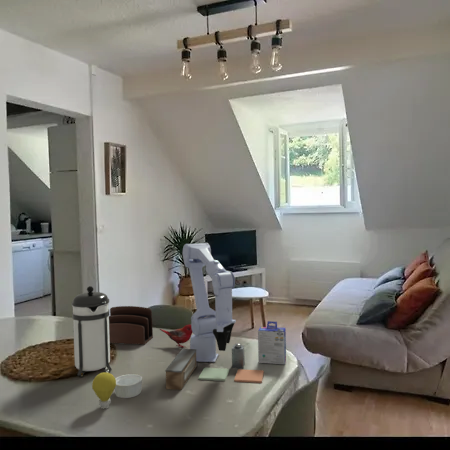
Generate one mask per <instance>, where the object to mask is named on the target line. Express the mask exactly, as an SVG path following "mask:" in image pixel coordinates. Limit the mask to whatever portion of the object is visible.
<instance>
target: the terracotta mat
mask: <svg viewBox="0 0 450 450" xmlns="http://www.w3.org/2000/svg"><path fill="white" fill-rule="evenodd" d="M264 373H265V370H262V369H261V370H260V369H244V368H237V371H236V374H235V377H234V379H233V380H234V381H233V382H237V383H238V382H239V383H254V384H257V383H258V384H261V383H263V377H264Z"/></svg>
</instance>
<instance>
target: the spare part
mask: <svg viewBox="0 0 450 450" xmlns="http://www.w3.org/2000/svg"><path fill="white" fill-rule="evenodd" d="M245 359H246V358H245V345H242V343H239V342H235V343H234V344H233V345H232V347H231V368H232V369H244V368H245V366H246V365H245V361H246V360H245Z"/></svg>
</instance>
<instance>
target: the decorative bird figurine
mask: <svg viewBox="0 0 450 450" xmlns="http://www.w3.org/2000/svg"><path fill="white" fill-rule="evenodd" d="M159 330H160V331H161V332H163V333H165V334H166V335H167V336H168V337H169V338H170V339H171V340H172V341H174V342H175V343H176V344H175V346H177V347H179V348H182V349H184V348H185V346H184V345H182V344H186V343H187V342H188V341H190V340H191V336H192V335H193V332H192V328H191V323H190V324H185V325H184V326H183V327H182V328H177V329H176V328H175V329H173V330H170V331H168V330H164V329H162V328H159Z"/></svg>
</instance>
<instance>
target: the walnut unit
mask: <svg viewBox="0 0 450 450" xmlns="http://www.w3.org/2000/svg"><path fill="white" fill-rule="evenodd" d="M196 368H197V361H196V349H190V348H182V349H181V350H180V351H179V352H178V353H177V355H176V356H175V357H174V359H173V360H172V361H171V363H169V365H168V366H167V367H166V369H165V370H164V372H165V388H166V390H175V391H176V390H177V391H179V390H180V391H182V390H183V388H184V387H185V385H186V383H187V382H188V380H189V378H190V377H191V375H192V374H193V372H194V371H195V369H196Z"/></svg>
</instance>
